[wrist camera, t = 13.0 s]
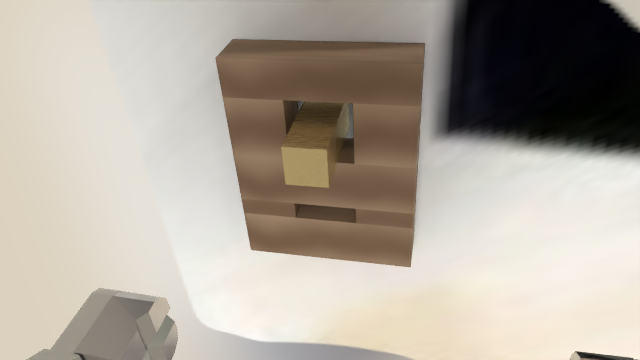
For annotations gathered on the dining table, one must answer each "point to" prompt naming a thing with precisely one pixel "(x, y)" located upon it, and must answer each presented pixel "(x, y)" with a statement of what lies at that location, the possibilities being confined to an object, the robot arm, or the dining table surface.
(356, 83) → the wooden slotted board
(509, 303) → the dining table surface
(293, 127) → the square bit
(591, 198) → the dining table surface
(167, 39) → the dining table surface
